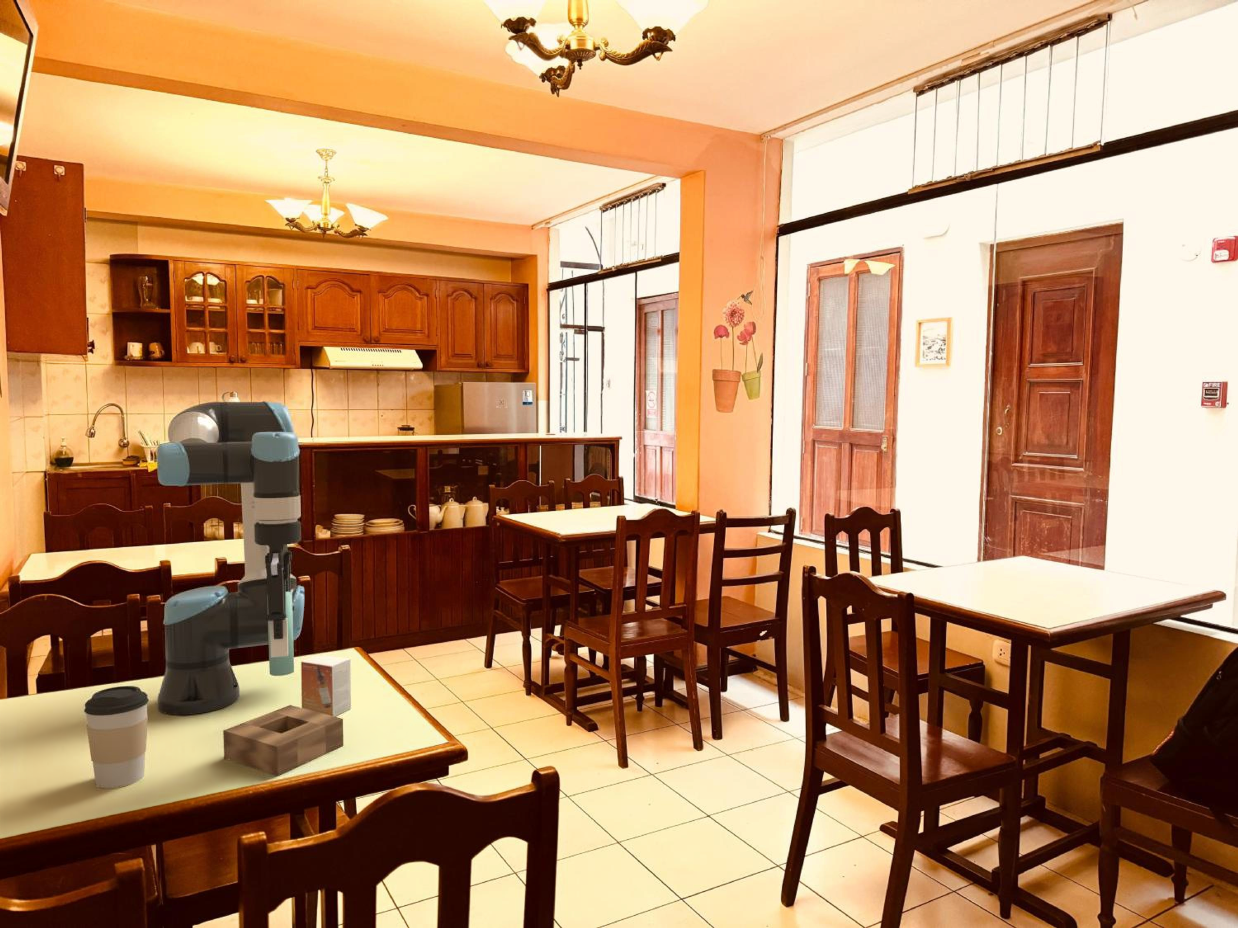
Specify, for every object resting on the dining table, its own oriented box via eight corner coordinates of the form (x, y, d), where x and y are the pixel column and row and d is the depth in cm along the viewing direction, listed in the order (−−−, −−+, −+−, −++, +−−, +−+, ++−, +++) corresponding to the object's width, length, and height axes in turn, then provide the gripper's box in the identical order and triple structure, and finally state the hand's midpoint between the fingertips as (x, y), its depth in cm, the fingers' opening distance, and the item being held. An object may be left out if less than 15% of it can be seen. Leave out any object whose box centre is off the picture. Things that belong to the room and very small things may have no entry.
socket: (224, 758, 144) (223, 730, 144) (290, 730, 156) (290, 704, 156) (278, 775, 137) (277, 746, 137) (343, 745, 150) (342, 718, 149)
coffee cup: (106, 767, 140) (102, 681, 139) (161, 765, 141) (158, 680, 140) (75, 792, 131) (71, 700, 130) (135, 790, 132) (131, 699, 131)
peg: (264, 673, 145) (262, 594, 144) (283, 667, 148) (281, 590, 147) (279, 677, 143) (277, 597, 142) (299, 670, 146) (296, 592, 145)
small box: (301, 712, 165) (299, 661, 165) (320, 703, 171) (319, 653, 170) (332, 718, 162) (331, 666, 162) (352, 708, 168) (350, 657, 167)
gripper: (261, 515, 151) (265, 640, 152) (246, 528, 135) (250, 668, 136) (305, 513, 153) (308, 637, 155) (295, 526, 137) (299, 664, 138)
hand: (281, 651), depth 145 cm, fingers closed on peg, 4 cm apart
